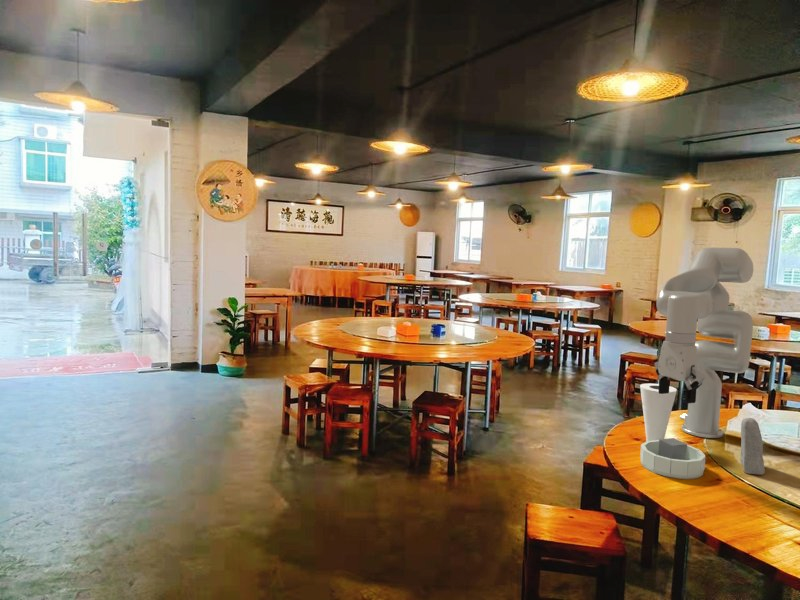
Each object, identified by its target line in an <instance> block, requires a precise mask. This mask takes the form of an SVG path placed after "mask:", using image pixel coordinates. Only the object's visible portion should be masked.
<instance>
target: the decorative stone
mask: <svg viewBox="0 0 800 600" xmlns="http://www.w3.org/2000/svg"><path fill="white" fill-rule="evenodd" d="M740 425H741V426H740V439H741V440H740V443H741V445H740V447H741V448H740V462H741V464H742V469H743V472H744V473H745V474H749V475H757V476H758V475H759V476H760V475H761V476H762V475H765V474H766V473H765V472H766V470H765V461H764V457H763V454H764V450H763V449H764V445H763V438H762V433H761V432H762V431H761V429H760V426H759V423H758V421H757V420H756V419H755V418H753V417H744V418H743V419H742V420H741V424H740Z"/></svg>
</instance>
